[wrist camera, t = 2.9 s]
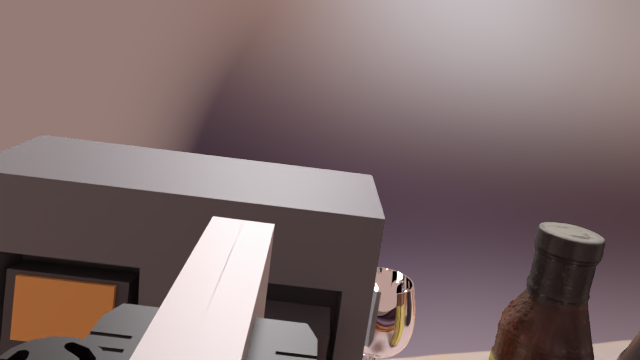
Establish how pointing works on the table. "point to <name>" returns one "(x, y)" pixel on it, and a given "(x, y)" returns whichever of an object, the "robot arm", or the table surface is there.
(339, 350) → the block
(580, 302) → the sauce bottle
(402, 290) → the wineglass
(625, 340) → the table surface
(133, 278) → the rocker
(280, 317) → the panel
